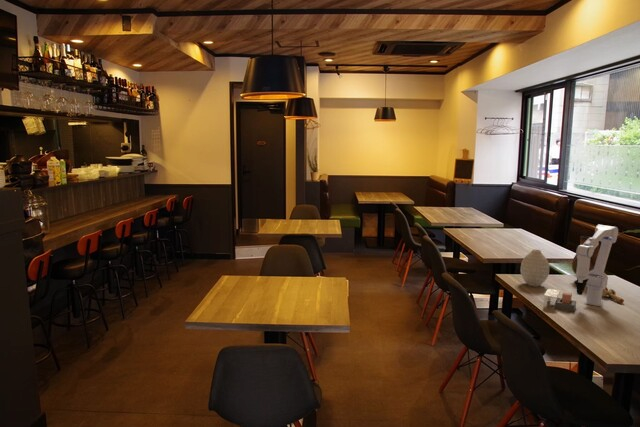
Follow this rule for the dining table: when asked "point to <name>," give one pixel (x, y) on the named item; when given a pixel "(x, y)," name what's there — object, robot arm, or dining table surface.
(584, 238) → the pitcher
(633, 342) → the dining table surface
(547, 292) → the beige block
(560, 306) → the socket
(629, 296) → the dining table surface
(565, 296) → the peg
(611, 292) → the kendama
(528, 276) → the vase
